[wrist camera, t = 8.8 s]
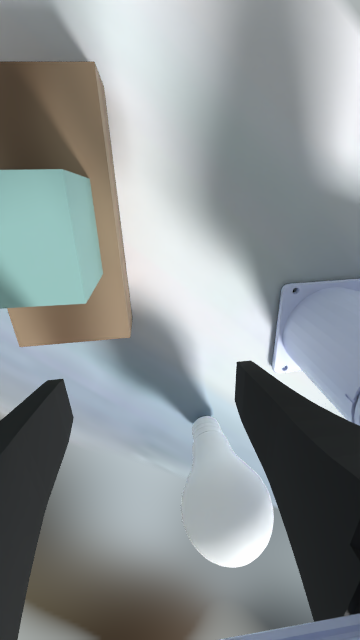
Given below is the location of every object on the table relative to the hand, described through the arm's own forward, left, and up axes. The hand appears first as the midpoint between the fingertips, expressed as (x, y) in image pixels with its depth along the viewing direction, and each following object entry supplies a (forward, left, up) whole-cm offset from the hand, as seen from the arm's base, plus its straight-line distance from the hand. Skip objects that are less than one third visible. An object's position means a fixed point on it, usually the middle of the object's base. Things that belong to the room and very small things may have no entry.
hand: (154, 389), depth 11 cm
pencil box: (+5, -6, -10) cm, 13 cm away
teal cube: (+5, -6, -7) cm, 10 cm away
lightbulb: (-4, +12, -10) cm, 16 cm away
